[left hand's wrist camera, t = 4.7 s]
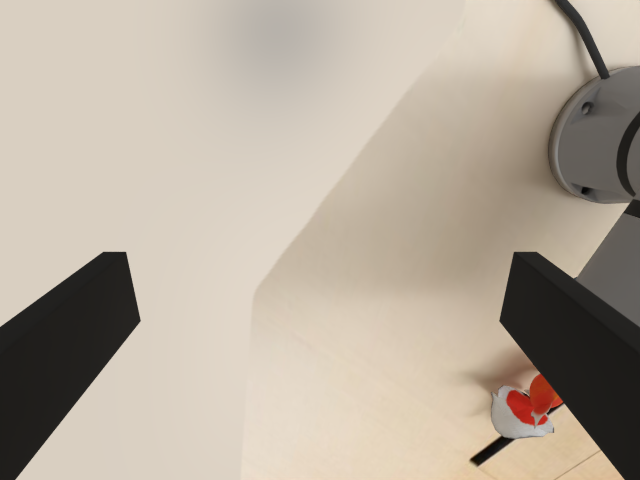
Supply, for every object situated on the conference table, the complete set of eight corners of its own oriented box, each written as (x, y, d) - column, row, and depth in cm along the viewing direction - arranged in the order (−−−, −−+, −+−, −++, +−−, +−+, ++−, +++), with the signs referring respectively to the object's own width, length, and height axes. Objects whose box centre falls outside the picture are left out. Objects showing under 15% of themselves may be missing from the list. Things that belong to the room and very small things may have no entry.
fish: (613, 400, 52) (620, 457, 45) (510, 416, 63) (500, 465, 55) (568, 338, 53) (567, 384, 45) (472, 364, 63) (458, 405, 55)
